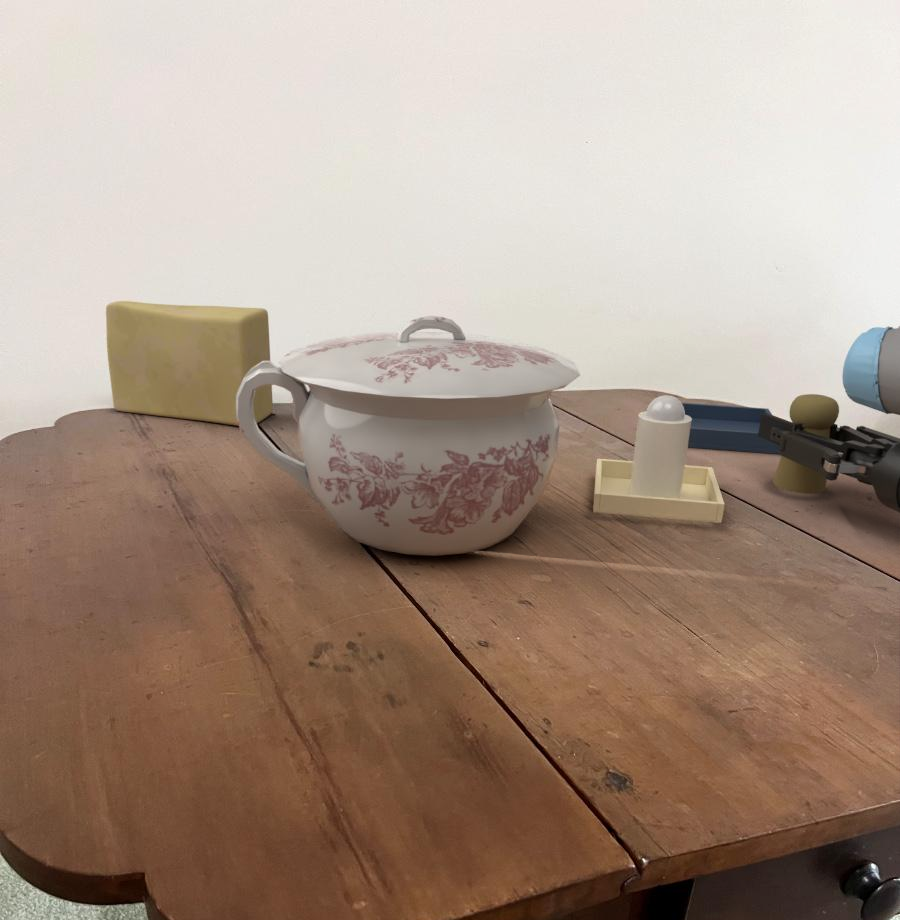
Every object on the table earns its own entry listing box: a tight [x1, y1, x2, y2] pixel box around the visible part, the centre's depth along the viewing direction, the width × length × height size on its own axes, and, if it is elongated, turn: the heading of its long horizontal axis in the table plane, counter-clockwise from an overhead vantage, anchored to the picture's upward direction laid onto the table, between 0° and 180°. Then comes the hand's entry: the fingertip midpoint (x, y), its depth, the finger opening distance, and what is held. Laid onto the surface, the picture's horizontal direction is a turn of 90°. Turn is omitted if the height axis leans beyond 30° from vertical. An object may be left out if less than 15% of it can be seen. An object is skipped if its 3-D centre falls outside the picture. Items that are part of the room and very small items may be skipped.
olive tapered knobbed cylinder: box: [772, 393, 840, 494], centre depth 105 cm, size 6×6×11 cm
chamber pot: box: [236, 315, 581, 557], centre depth 87 cm, size 28×28×21 cm
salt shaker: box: [629, 394, 692, 499], centre depth 99 cm, size 6×6×11 cm
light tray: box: [592, 458, 726, 524], centre depth 101 cm, size 13×13×3 cm
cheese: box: [105, 300, 274, 427], centre depth 126 cm, size 22×10×15 cm, turn 80°
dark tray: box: [681, 402, 780, 455], centre depth 128 cm, size 15×15×3 cm
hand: (779, 423), depth 109 cm, fingers closed on olive tapered knobbed cylinder, 4 cm apart
